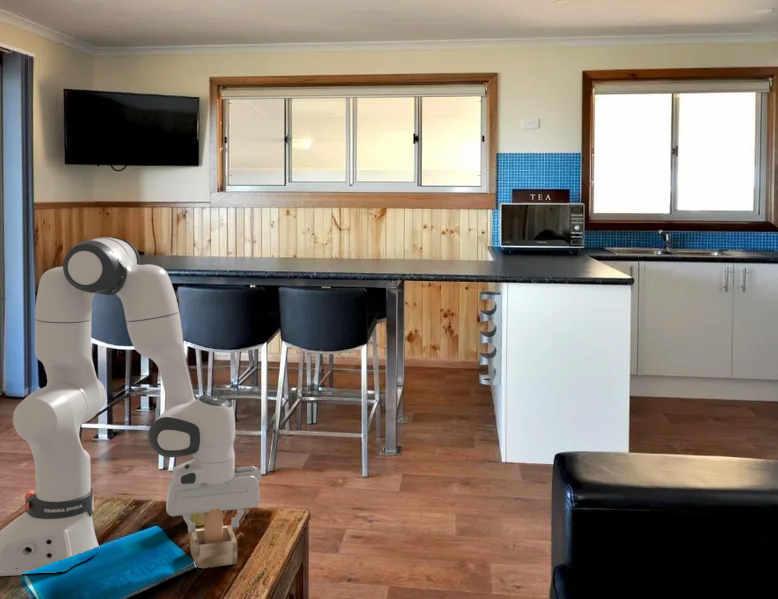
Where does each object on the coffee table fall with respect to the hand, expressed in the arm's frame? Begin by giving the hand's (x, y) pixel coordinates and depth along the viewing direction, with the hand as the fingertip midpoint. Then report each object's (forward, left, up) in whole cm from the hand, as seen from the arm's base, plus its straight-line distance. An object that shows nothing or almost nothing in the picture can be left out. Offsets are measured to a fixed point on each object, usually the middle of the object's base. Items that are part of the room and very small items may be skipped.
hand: (213, 529), depth 160 cm
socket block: (0, 0, -7) cm, 7 cm away
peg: (0, 0, -7) cm, 7 cm away
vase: (-1, +20, -7) cm, 21 cm away
